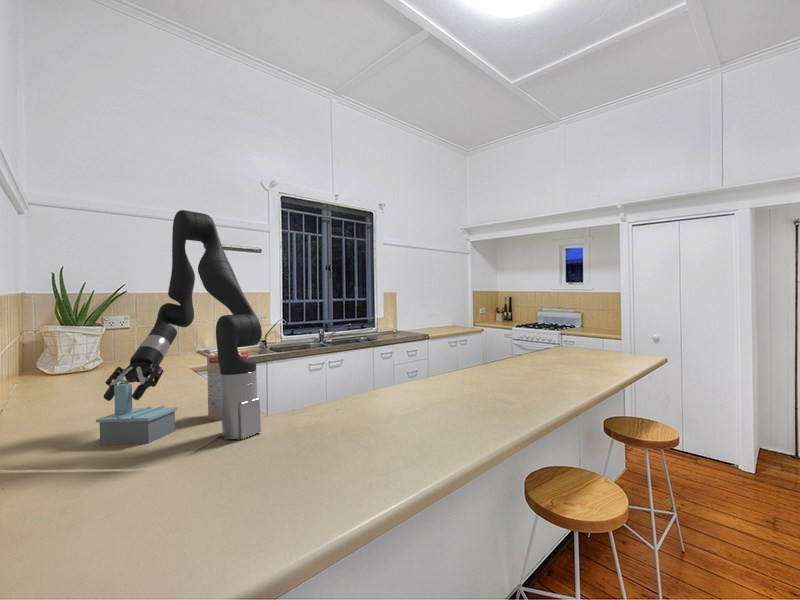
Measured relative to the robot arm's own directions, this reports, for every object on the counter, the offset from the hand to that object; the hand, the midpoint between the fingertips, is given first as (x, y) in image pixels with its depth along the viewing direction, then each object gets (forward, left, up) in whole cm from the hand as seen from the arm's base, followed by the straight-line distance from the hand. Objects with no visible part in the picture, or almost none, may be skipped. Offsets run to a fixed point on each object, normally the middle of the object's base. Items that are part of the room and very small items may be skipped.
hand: (120, 398), depth 103 cm
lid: (-4, -3, -5) cm, 7 cm away
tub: (-4, -3, -12) cm, 12 cm away
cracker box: (-7, -29, -12) cm, 32 cm away
